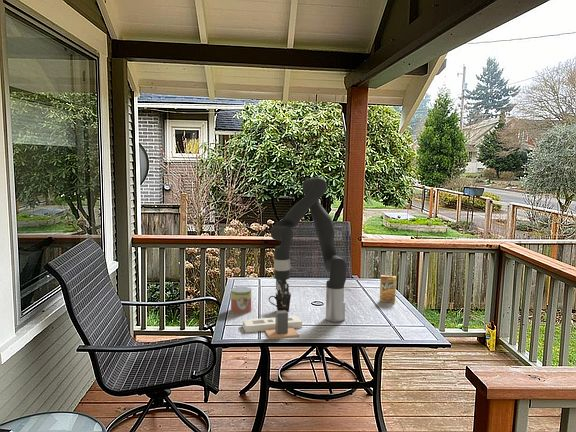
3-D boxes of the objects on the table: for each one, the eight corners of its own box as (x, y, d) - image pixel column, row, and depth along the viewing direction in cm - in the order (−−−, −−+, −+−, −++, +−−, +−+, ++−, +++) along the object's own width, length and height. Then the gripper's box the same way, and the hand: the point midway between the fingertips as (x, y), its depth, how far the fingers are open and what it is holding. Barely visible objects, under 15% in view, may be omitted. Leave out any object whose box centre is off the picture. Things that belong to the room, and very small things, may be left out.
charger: (285, 330, 215) (285, 310, 214) (287, 333, 211) (287, 312, 210) (275, 331, 214) (275, 311, 213) (277, 334, 210) (277, 313, 209)
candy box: (379, 301, 265) (380, 276, 264) (380, 299, 269) (381, 274, 268) (394, 303, 263) (395, 277, 261) (395, 301, 267) (396, 275, 265)
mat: (292, 328, 219) (292, 327, 219) (298, 336, 210) (298, 334, 210) (264, 331, 216) (264, 329, 216) (269, 339, 206) (269, 337, 206)
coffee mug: (292, 309, 249) (292, 291, 248) (288, 314, 241) (288, 296, 240) (272, 307, 253) (272, 290, 251) (268, 312, 244) (268, 294, 243)
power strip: (296, 321, 230) (296, 315, 230) (302, 327, 222) (302, 321, 221) (242, 325, 223) (242, 319, 223) (246, 332, 214) (245, 326, 214)
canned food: (232, 314, 239) (232, 293, 238) (229, 308, 250) (229, 287, 249) (253, 313, 242) (253, 291, 241) (249, 306, 253) (249, 286, 252)
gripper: (294, 271, 203) (294, 305, 205) (285, 264, 217) (286, 297, 219) (278, 272, 201) (278, 307, 203) (270, 265, 215) (271, 298, 217)
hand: (282, 302), depth 211 cm, fingers open, 8 cm apart
